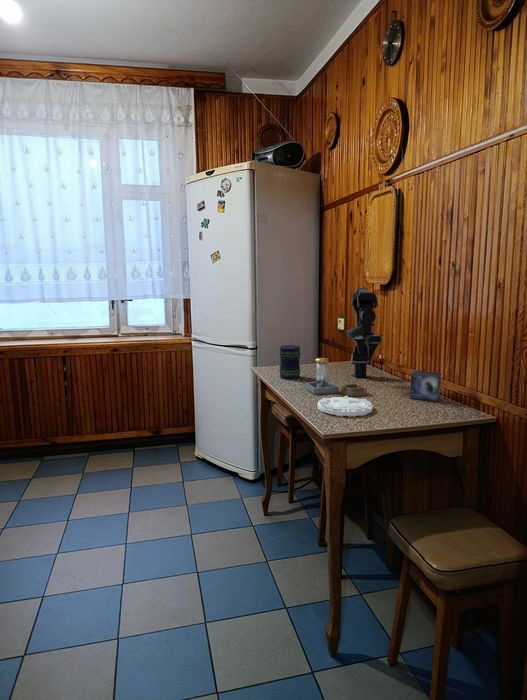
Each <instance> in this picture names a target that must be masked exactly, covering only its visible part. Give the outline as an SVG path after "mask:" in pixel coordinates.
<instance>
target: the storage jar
mask: <svg viewBox="0 0 527 700" xmlns="http://www.w3.org/2000/svg"><path fill="white" fill-rule="evenodd" d="M279 359H280V360H279V363H280V364H279V379H281V380H289V381H293V380H298V379H301V376H300V374H301V365H300V359H301V346H300V345H296V344H295V345H293V344H289V345H288V344H286V345H281V346H279Z"/></svg>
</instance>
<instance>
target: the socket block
mask: <svg viewBox="0 0 527 700" xmlns="http://www.w3.org/2000/svg"><path fill="white" fill-rule="evenodd" d="M340 393H343V394H344V395H345V396H348V397H355V396H367V394H368V387H367V386H364V385H362V384H360V383H358V382H357V383H345V384H340Z"/></svg>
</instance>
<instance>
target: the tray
mask: <svg viewBox="0 0 527 700" xmlns="http://www.w3.org/2000/svg"><path fill="white" fill-rule="evenodd" d="M304 389H305V390H306V389H307V390H306V391H308V392H309V393H311V394H312V395H315V396H316V395H327V394H338V393H340V390H339V389H340V387H339V386H338V385H336V384H334V383H333V382H331V381H330V380H328V381H327V387H322V388H316V381H311V382H310V381H309V382H304Z"/></svg>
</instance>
